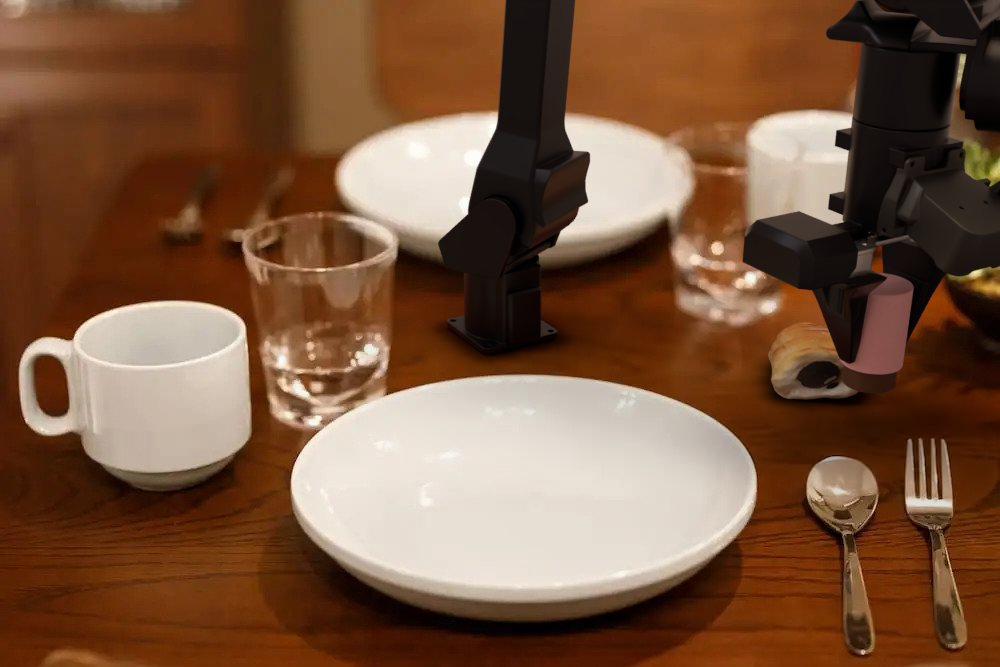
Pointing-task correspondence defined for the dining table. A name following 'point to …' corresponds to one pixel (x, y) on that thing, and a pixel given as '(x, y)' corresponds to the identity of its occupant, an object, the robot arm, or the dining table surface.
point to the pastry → (807, 364)
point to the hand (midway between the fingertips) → (871, 354)
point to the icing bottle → (881, 338)
